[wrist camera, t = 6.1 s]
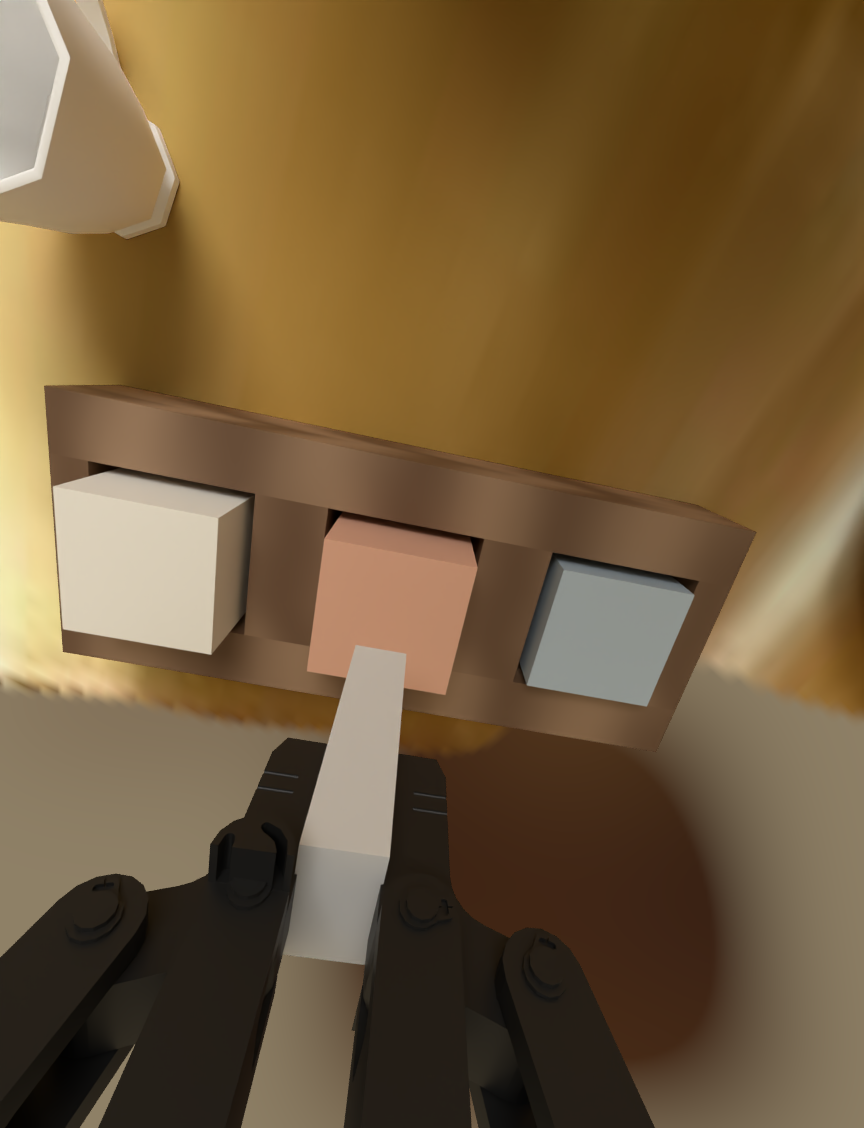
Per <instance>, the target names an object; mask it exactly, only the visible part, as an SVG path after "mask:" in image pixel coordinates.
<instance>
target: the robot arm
mask: <svg viewBox="0 0 864 1128" xmlns="http://www.w3.org/2000/svg"><path fill="white" fill-rule="evenodd" d="M405 666H406V654H405V653H399V652H393V651H388V650H382V649H376V648H370V647H365V646H359V645H356V646H355V649H354V653H353V656H352V660H351V663H350V667H349V670H348V674H347V677H346V681H345V684H344V688H343V691H342V695H341V698H340V702H339V706H338V709H337V713H336V716H335V720H334V723H333V727H332V730H331V734H330V737H329V741H328V744H325V743H318V742H312V741H306V740H300V739H293V738H287V739H286V740H285V741H284V742H283V743H282V744H281V745H280V746H278V747H277V748H276V749H275V750H274V751H273V752H272V754H271V756H270V759H269V761H268V763H267V766H266V768H265V771H264V774H263V775H262V777H261V780H260V782H259V784H258V788H257V789H256V791H255V794H254V796H253V798H252V801H251V803H250V805H249V807H248V810H247V813H246V814H245V817H244V818H242V819H239V820H236V821H233V822H232V823H230V824H229V825H228V826H226V827H225V828H223V829H222V830H221V831H220V832H219V833H218V834H217V836H216V837H215V838H214V840H213V841H212V843H211V844H210V858H209V873H208V874H207V875H206V876H204V877H202V878H200V879H198V880H196V881H194V882H191V883H188V884H184V885H180V886H176V887H171V888H165V889H159V890H154V891H148V892H146V890H145V888H144V885H143V884H141V883H140V882H139V881H138V880H136V879H135V878H134V877H132V876H126V875H120V874H111V875H106V876H99V877H96V878H93V879H91V880H89V881H87V882H84V883H82V884H80V885H78V886H76V887H75V888H73V889H72V890H71V891H70V892H68V893H67V894H66V895H65V896H63V897H62V898H61V899H59V900H58V901H57V902H56V903H55V904H54V905H53V906H52V907H51V908H50V909H49V910H48V911H47V912H46V913H45V914H44V915H43V916H42V917H41V918H40V919H39V920H38V921H37V922H36V923H35V924H34V925H33V926H32V927H31V928H30V929H29V930H28V931H27V932H26V933H25V934H24V935H23V936H22V937H21V938H20V939H19V940H18V941H17V942H16V943H15V944H14V945H13V946H12V947H11V948H10V949H9V950H8V951H7V952H6V953H5V954H3V956H1V957H0V1128H80V1126H81V1125H82V1123H83V1122H84V1120H85V1119H86V1117H87V1116H88V1114H89V1113H90V1111H91V1110H92V1108H93V1107H94V1105H95V1103H96V1101H97V1100H98V1099H99V1097H100V1096H101V1094H102V1093H103V1091H104V1090H105V1088H106V1087H107V1085H108V1084H109V1082H110V1080H111V1079H112V1078H113V1076H114V1075H115V1073H116V1072H117V1070H118V1069H119V1067H120V1065H121V1064H122V1062H123V1061H124V1059H125V1058H126V1056H127V1055H128V1053H129V1052H130V1050H131V1049H132V1047H133V1046H134V1044H135V1046H134V1049H133V1051H132V1053H131V1055H130V1058H129V1060H128V1062H127V1064H126V1067H125V1069H124V1071H123V1074H122V1076H121V1078H120V1080H119V1082H118V1085H117V1087H116V1090H115V1091H114V1094H113V1096H112V1098H111V1100H110V1103H109V1105H108V1107H107V1109H106V1112H105V1114H104V1116H103V1118H102V1121H101V1123H100V1125H99V1127H98V1128H241V1125H242V1121H243V1117H244V1113H245V1109H246V1105H247V1101H248V1097H249V1093H250V1089H251V1085H252V1081H253V1077H254V1073H255V1070H256V1066H257V1061H258V1058H259V1054H260V1050H261V1046H262V1042H263V1038H264V1034H265V1030H266V1026H267V1022H268V1018H269V1013H270V1010H271V1006H272V1002H273V998H274V994H275V988H276V981H277V974H278V970H279V966H280V963H281V959H282V955H290V956H298V957H306V958H314V959H322V960H330V961H338V962H346V963H354V964H362V965H364V964H365V971H364V979H363V986H362V990H361V994H360V998H359V1003H358V1007H357V1011H356V1016H355V1019H354V1023H353V1027H352V1030H353V1031H355V1036H354V1045H353V1053H352V1062H351V1070H350V1079H349V1088H348V1097H347V1105H346V1113H345V1122H344V1128H471V1112H470V1094H469V1088H470V1092H471V1096H472V1101H473V1105H474V1110H475V1114H476V1118H477V1123H478V1127H479V1128H655V1127H654V1125H653V1123H652V1121H651V1119H650V1116H649V1114H648V1112H647V1110H646V1108H645V1105H644V1103H643V1101H642V1099H641V1097H640V1095H639V1093H638V1090H637V1088H636V1086H635V1084H634V1082H633V1079H632V1077H631V1075H630V1073H629V1071H628V1068H627V1066H626V1064H625V1062H624V1060H623V1058H622V1055H621V1053H620V1051H619V1049H618V1047H617V1044H616V1043H615V1040H614V1038H613V1036H612V1034H611V1032H610V1029H609V1027H608V1025H607V1023H606V1021H605V1018H604V1016H603V1014H602V1012H601V1010H600V1007H599V1005H598V1003H597V1001H596V999H595V997H594V994H593V992H592V990H591V988H590V986H589V983H588V981H587V979H586V977H585V975H584V973H583V970H582V968H581V966H580V964H579V963H578V961H577V960H576V958H575V957H574V955H573V953H572V952H571V950H570V949H569V948H568V947H567V946H566V945H565V944H564V943H563V942H562V941H561V940H559V938H557V937H556V936H555V935H552V934H550V933H548V932H546V931H544V930H542V929H535V928H525V929H522V930H520V931H517V932H515V933H514V934H513V935H512V936H511V938H508V937H506V936H504V935H502V934H500V933H498V932H496V931H494V930H492V929H490V928H488V927H486V926H484V925H483V924H481V923H480V922H478V921H476V920H475V919H473V918H472V917H471V916H470V915H469V914H468V913H467V912H466V911H465V910H464V909H463V908H462V906H461V905H460V903H459V902H458V900H457V899H456V897H455V894H454V892H453V889H452V886H451V880H450V867H449V845H448V822H447V801H446V777H445V775H444V774H443V772H442V770H441V768H440V766H439V764H438V762H437V760H435V759H428V758H422V757H416V756H410V755H403V754H398V751H399V739H400V727H401V714H402V702H403V690H404V678H405ZM365 960H366V961H365Z"/></svg>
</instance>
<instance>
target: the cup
mask: <svg viewBox="0 0 864 1128" xmlns="http://www.w3.org/2000/svg"><path fill="white" fill-rule="evenodd" d="M76 2H77V4H76ZM76 2H75V1H74V0H0V221H2V222H9V223H15V224H22V225H27V226H33V227H38V228H43V229H49V230H54V231H59V232H65V233H70V234H109V233H112V232H115V233H116V234H118V235H120V236H121V237H123V238H125V239H130V238H132V237H135V236H138V235H141V234H144V233H147V232H150V231H153V230H156V229H159V228H162V227H165V226H166V223H167V220H168V217H169V214H170V210H171V207H172V204H173V201H174V198H175V195H176V192H177V189H178V185H179V182H180V181H179V178H178V176H177V173H176V170H175V168H174V165H173V163H172V160H171V157H170V155H169V152H168V149H167V147H166V144H165V141H164V139H163V136H162V133H161V131H160V129H159V128H158V127H157V126H156V125H155V124H153V123H152V122H150V121H149V120H147V117H146V115H145V112H144V110H143V108H142V106H141V104H140V102H139V100H138V98H137V97H136V95H135V93H134V91H133V89H132V87H131V85H130V84H129V82H128V80H127V78H126V76H125V74H124V72H123V71H122V69H121V66H120V62H119V58H118V54H117V50H116V46H115V41H114V37H113V33H112V30H111V27H110V24H109V20H108V17H107V14H106V10H105V7H104V4H103V0H76Z"/></svg>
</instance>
